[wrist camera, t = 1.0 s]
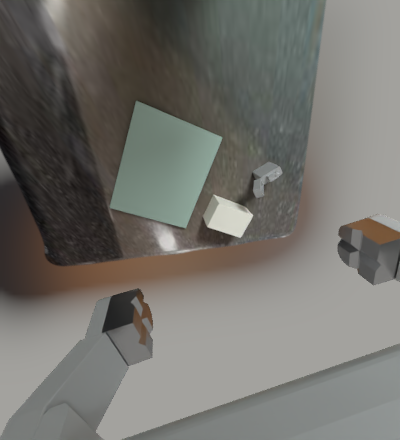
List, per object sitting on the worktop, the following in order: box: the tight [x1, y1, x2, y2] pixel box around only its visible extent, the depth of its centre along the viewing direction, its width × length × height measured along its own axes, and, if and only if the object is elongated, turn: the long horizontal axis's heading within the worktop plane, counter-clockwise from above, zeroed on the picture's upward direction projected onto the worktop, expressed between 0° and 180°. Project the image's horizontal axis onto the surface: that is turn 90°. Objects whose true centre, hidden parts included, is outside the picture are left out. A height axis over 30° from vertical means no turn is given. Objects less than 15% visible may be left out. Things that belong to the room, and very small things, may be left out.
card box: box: [203, 195, 253, 238], centre depth 47 cm, size 6×8×5 cm
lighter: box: [252, 162, 282, 198], centre depth 43 cm, size 7×2×8 cm, turn 121°
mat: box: [110, 101, 223, 228], centre depth 42 cm, size 20×16×1 cm
